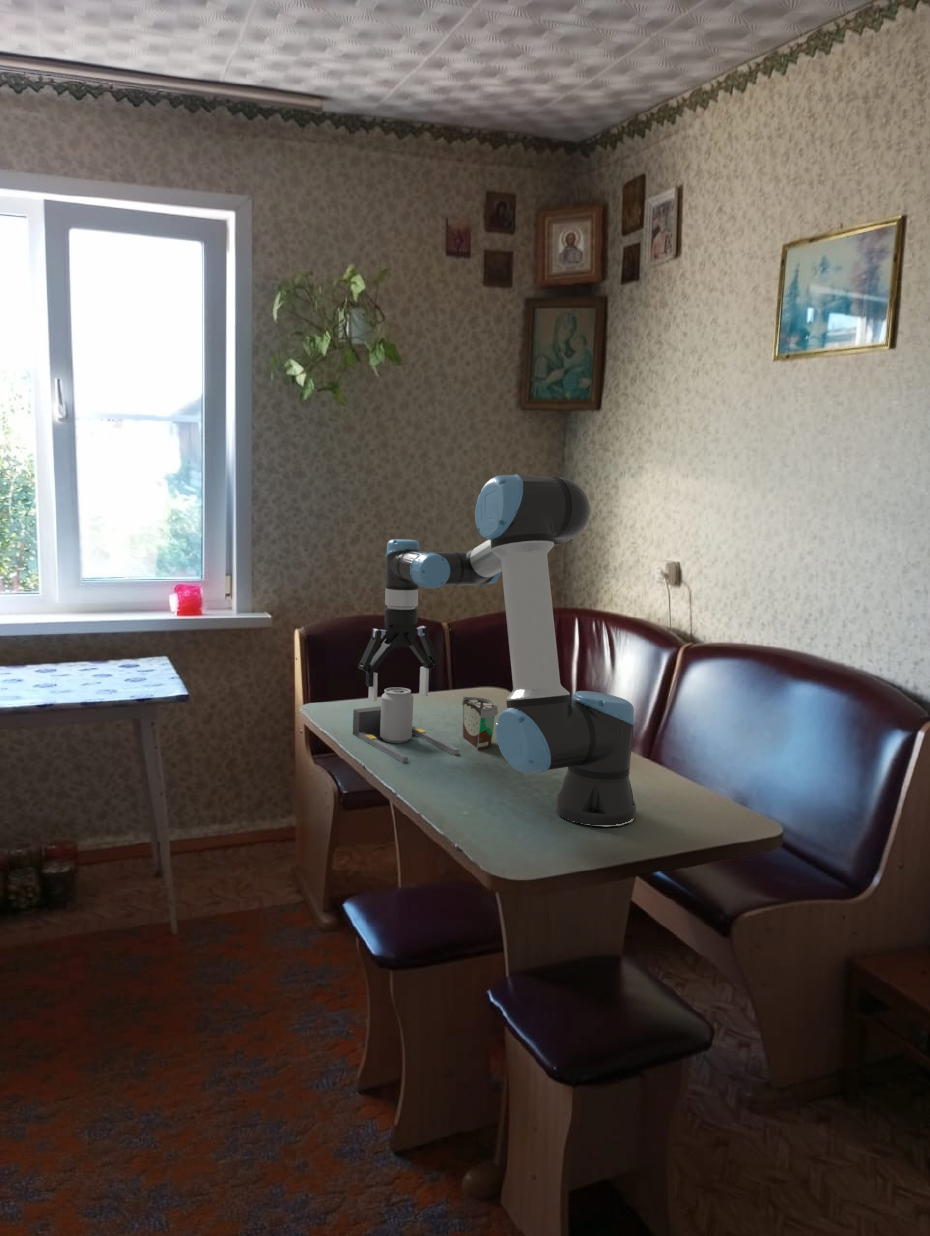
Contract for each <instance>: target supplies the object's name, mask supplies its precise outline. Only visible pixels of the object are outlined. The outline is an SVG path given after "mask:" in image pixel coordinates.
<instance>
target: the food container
mask: <svg viewBox="0 0 930 1236" xmlns="http://www.w3.org/2000/svg"><path fill="white" fill-rule="evenodd" d="M462 698H463V699H462V701H461V702H462V703H461V705H462V740H463V741H465V742H467V744H468V745H470V746H471V747H473V748H474V749H475V750H476V751H481V750H483V751H484V750H487V749H489V748H491V746H492V741H493V740H492V739H493V732H494V725H495V719H496V718H495V717H496V716H497V715H498V713H499V711H498V706H497V703H496V702H495V701H494V700H491V699H488V698H484V697H479V696H478V697H476V696H463V697H462Z"/></svg>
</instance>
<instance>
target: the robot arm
mask: <svg viewBox="0 0 930 1236" xmlns="http://www.w3.org/2000/svg"><path fill="white" fill-rule="evenodd" d="M590 506H591V505H590V501H589V499H588V496H587V494H586V493H585V491H584V490H583V488H582V487H581V486H580V485H579V484H577V482H574V481H573V480H571V479H569V478H565V477H558V476H541V475H540V476H536V475H524V474H523V475H521V474H518V473H514V474H511V475H510V474H508V475H495V476H494V477H492V478H490V479H489V480H488V481H487V482H485V484H484V485H483V487H482V488H481V490H480V493H479V494H478V497H477V501H476V505H475V512H474V516H475V517H474V519H475V527H476V529H477V531H478V532H479V535H480V536H481V537H482V538H484V539H485V540H486V541H485V540H484V542H482V543H481V544H479V545H478V546H476V547H474V548H472V549H471V550H468V551H421V549H420V547H421V546H420V543H419V541H418V540H416V539H405V538H403V539H402V538H399V539H397V538H393V539H390V540H389V541H387V543H386V544H387V546H386V554H385V593H384V594H385V595H384V596H385V599H384V605H385V606H386V607H385V608H384V629H378V628H372V630H371V635H370V639H369V642H368V643H367V646H366V648H365V650H364V652H363V655H362V657H361V659H360V661H359V663H358V665H357V669H359V670H362V671H364V672H365V685H366V687H368V700H369V701H372V702H375V703H376V702H378V674H379V673H378V672H376V671H377V669H378V668H379V666H380V665H381V663H382V662H383V661H384V659H385V658H386V657H387V655H388V654H390V652H391V651H392V650H393V649H395V648H396V649H400V648H410V649H411V651H412V652H413V654H414V655H415V657H417V659H418V661H420V662H421V664H422V666H420V668H419V689H418V690H419V692H418V694H419V695H421V696H423V697H428V696H429V682H431V680H432V670H433V669H435V666H439V664H440V660H439V658H438V655H437V653H436V650H435V647H434V645H433V642H432V639H431V638H430V632H429V631H430V629H429V627H427V626H424V625H420V626H419V627H417V623H418V609H417V607H418V606H419V587H422V588H423V589H424V588H425V589H437V588H441V587H445V586H446V587H447V586H448V587H449V586H450V587H452V586H453V587H454V586H481V587H483V586H485V585H493V584H495V583H497V581H499V578H500V577H501V576H502V578H501V579H502V586H503V596H504V597H503V598H504V606H505V617H506V618H505V619H506V625H507V637H508V647H509V656H510V657H509V658H510V666H511V677H512V691H511V692H510V693H509V694H508V696H507V697H506V698H505V700H506V701H505V703H506V709H504V710H503V711H501V712H500V713H499V715H498V716H497V722H496V724H495V735H496V741H497V745H498V747H499V751H500V753H501V754H502V756H503V758H504V760H506V762H507V763H508V765H510V766H511V767H512V768H513V769H514V770H516V771H517V772H520V773H535V772H536V773H544V772H547V771H550V770H551V771H552V770H558V769H563V768H567V771H566V775H565V777H564V780H563V782H562V786H561V789H560V792H558V793H557V796H556V799H555V812H556V814H557V813H558V814H559V815H558V814H557V815H558V816H560V815H561V816H563V817H564V818H566V819H569V820H571V821H575V822H578V823H583V824H590V825H616V824H622V823H625V822H628V821H630V820H631V819H633V818H634V816H635V817H636V812H637V811H636V810H637V807H636V806H637V804H636V802H635V799H634V794H633V793H634V792H633V789H632V784H631V781H630V769H631V757H632V747H633V746H632V745H633V735H634V727H635V722H634V719H635V718H634V716H635V714H634V713H635V708H634V705H633V704H632V703H631V702H630V701H629V700H627V699H625V698H624V697H623V698H622V697H619V696H616V695H613V694H607V693H603V692H597V691H590V690H589V691H588V690H578V691H575V692H574V693H573V695H572V696H571V693H570V691H568V690H567V689H566V688H565V687H563V686H562V684H561V679H560V678H561V677H560V669H559V668H560V667H559V666H560V665H559V657H558V648H557V647H558V646H557V639H556V630H555V621H554V620H555V618H554V611H553V610H554V609H553V600H552V591H551V582H550V581H551V580H550V573H549V571H550V570H549V563H548V562H549V560H548V554H549V552H550V551H551V550H552V548H553V547H554V546H559V545H560V546H561V545H563V544H565V543H567V542H568V541H570V540H572V539H573V538H576V537H577V536H578V535H580V533H582V532H583V530H584V529H585V528H586V526H587V524H588V522H589V519H590V514H591V512H590V511H591V507H590ZM417 636H419V639H420V642H421V643H422V647H423V649H424V651H425V652H424V651H423V649H422V648H421V646H420V645H419V643H418V642H417V639H415V638H416V637H417ZM383 638H385V639H384V640H383V642H381V640H382V639H383ZM380 643H381V645H380ZM379 646H380V647H379ZM378 647H379V648H378ZM571 700H572V702H571ZM561 816H560V817H561ZM564 818H563V819H564ZM566 819H565V820H566ZM571 821H570V822H571Z"/></svg>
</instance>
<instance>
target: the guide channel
mask: <svg viewBox="0 0 930 1236" xmlns="http://www.w3.org/2000/svg"><path fill="white" fill-rule="evenodd" d="M352 713H353V714H352V715H353V717H352V735H354V736H356V737H358V738H359V739H361V740H362V741H365V742H366V743H368V744H370V745H371V746H373V747H375V748H377V749H378V750H380V751H382V752H383V753H385V754H387V755H389V756H390V757H393V758H394V759H396V760H397V759H398V761H399V762H401V763H403V764H405V763H408V762H409V756H407V755H406V754H404V753H402V752H400V751H398V750H397V749H395V748H393V747H391V746H390V745H388V744H387V743H384V742H383V741H381V740H379V739H378V737H377V736H379V735H378V734H380V723H381V705H380V706H372V707H364V708H363V707H362V708H354V709H353V712H352ZM412 733H413V734H412V735H414V734H415V735H414V736H416V735H417V737H418V736H419V737H418V738H420V737H421V738H420V739H422V740H424V739H425V740H424V741H426V742H427V743H430V744H431V745H433V746H436V747H438V748H439V749H441V750H442V751H445V752H447V753H449V754H451V755H453V756H459V754H460V749H459V748H457V747H455V746H453V745H451V744H449V743H447V742H446V741H443V740H441V739H439V738H438V737H436V736H434V735H431V734H429V733H427V731H426V730H424V729H422V728H420V727H418V728H417V727H415V726H413V725H412Z"/></svg>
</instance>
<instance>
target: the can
mask: <svg viewBox="0 0 930 1236" xmlns="http://www.w3.org/2000/svg"><path fill="white" fill-rule="evenodd" d="M380 703H381V704H380V706H381V723H380V735H379V736H380V738H382V740H383V741H384V742H387V743H390V742H391V744H404V743H407V742H408V741H409V740H410V739H412V736H413V734H412V726H413V716H414V715H413V714H414V695H412V690H411V689H410V688H406V687H388V688H384V693H382V695H381V701H380Z"/></svg>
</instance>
